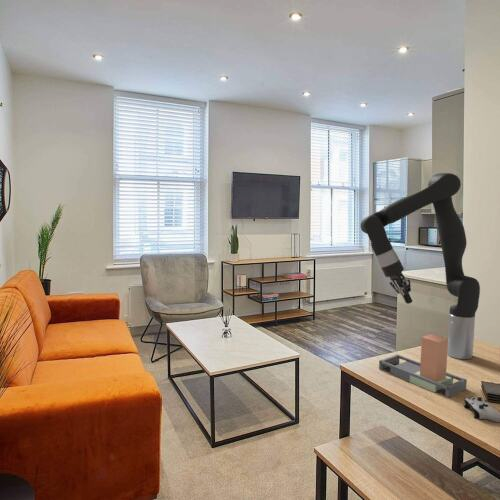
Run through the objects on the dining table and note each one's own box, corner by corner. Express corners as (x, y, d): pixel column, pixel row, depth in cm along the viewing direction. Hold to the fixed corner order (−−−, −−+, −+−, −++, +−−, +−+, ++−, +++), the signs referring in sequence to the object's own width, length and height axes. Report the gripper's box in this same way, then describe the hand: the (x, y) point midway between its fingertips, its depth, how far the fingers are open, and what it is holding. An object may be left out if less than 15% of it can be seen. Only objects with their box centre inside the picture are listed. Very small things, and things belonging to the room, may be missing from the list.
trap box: (397, 362, 156) (397, 354, 156) (466, 388, 134) (466, 379, 134) (378, 369, 150) (379, 360, 150) (448, 397, 128) (448, 388, 128)
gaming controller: (508, 420, 113) (491, 403, 113) (490, 434, 114) (474, 418, 114) (486, 401, 124) (471, 385, 124) (471, 414, 125) (456, 398, 125)
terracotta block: (429, 371, 142) (431, 333, 141) (445, 377, 137) (448, 338, 136) (419, 375, 139) (421, 337, 137) (436, 382, 134) (438, 342, 132)
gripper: (406, 257, 149) (426, 299, 148) (390, 259, 162) (409, 298, 162) (389, 265, 148) (410, 307, 147) (374, 267, 161) (393, 306, 161)
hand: (409, 302), depth 154 cm, fingers closed
